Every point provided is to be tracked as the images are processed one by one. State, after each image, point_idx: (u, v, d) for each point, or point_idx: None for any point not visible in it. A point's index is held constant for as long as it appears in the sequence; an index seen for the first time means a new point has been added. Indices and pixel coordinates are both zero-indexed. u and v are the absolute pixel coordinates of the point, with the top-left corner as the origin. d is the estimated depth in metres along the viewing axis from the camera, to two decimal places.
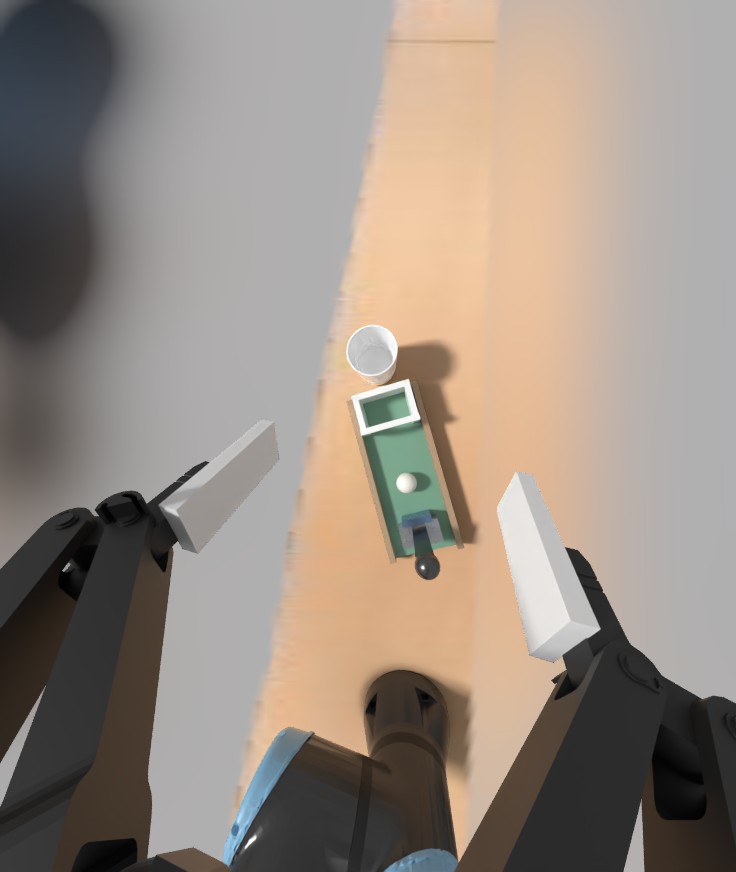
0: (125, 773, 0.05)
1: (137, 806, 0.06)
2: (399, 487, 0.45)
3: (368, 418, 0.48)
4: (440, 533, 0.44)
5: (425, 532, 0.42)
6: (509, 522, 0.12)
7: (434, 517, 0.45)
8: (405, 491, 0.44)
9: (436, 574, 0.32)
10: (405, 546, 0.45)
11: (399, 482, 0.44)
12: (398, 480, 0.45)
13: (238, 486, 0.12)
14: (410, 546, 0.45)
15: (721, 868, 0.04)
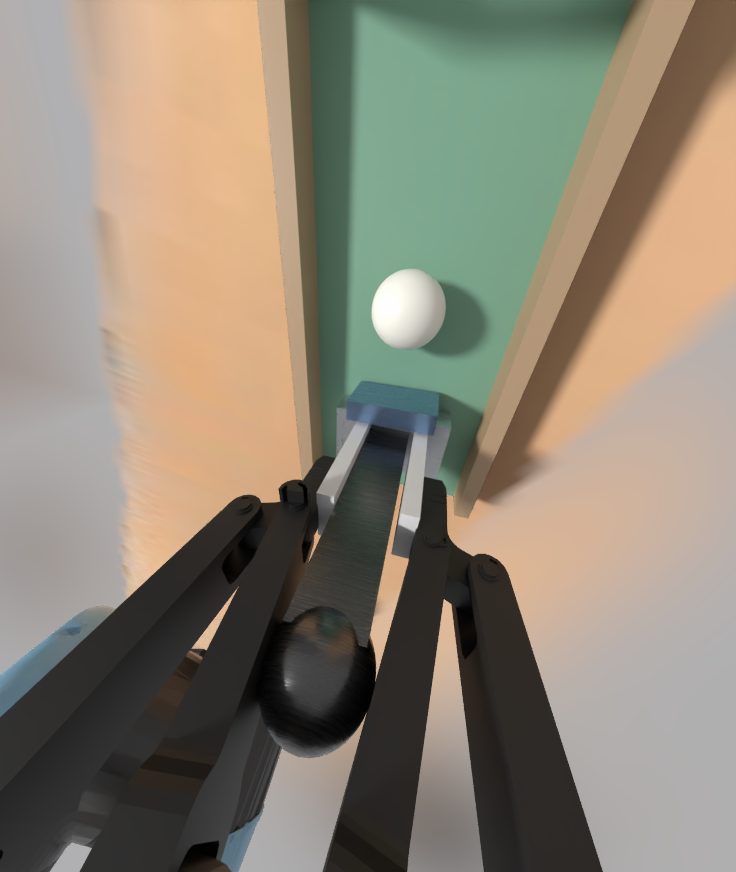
0: (232, 770, 0.06)
1: (229, 805, 0.06)
2: (376, 317, 0.12)
3: None
4: (437, 462, 0.16)
5: (397, 462, 0.13)
6: (407, 468, 0.15)
7: (443, 421, 0.16)
8: (390, 340, 0.12)
9: None
10: None
11: (383, 297, 0.11)
12: (382, 289, 0.12)
13: None
14: None
15: (484, 672, 0.06)
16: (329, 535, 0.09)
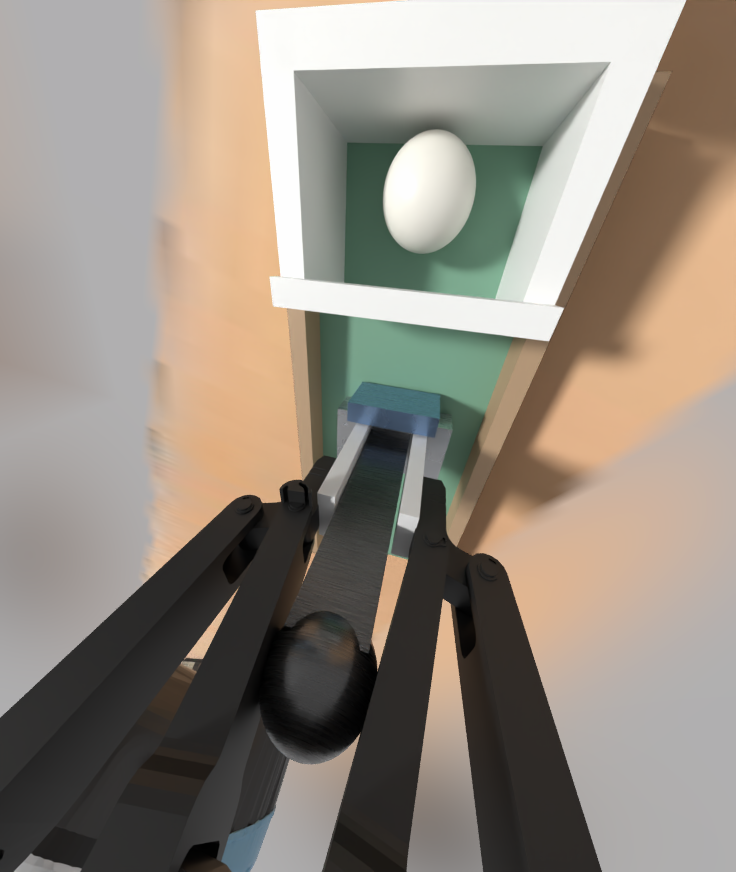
0: (232, 770, 0.06)
1: (229, 805, 0.06)
2: (394, 160, 0.10)
3: (351, 227, 0.13)
4: (438, 464, 0.16)
5: (398, 464, 0.13)
6: (406, 468, 0.15)
7: (444, 423, 0.16)
8: (413, 162, 0.09)
9: None
10: None
11: None
12: None
13: None
14: None
15: (483, 672, 0.06)
16: (330, 538, 0.09)
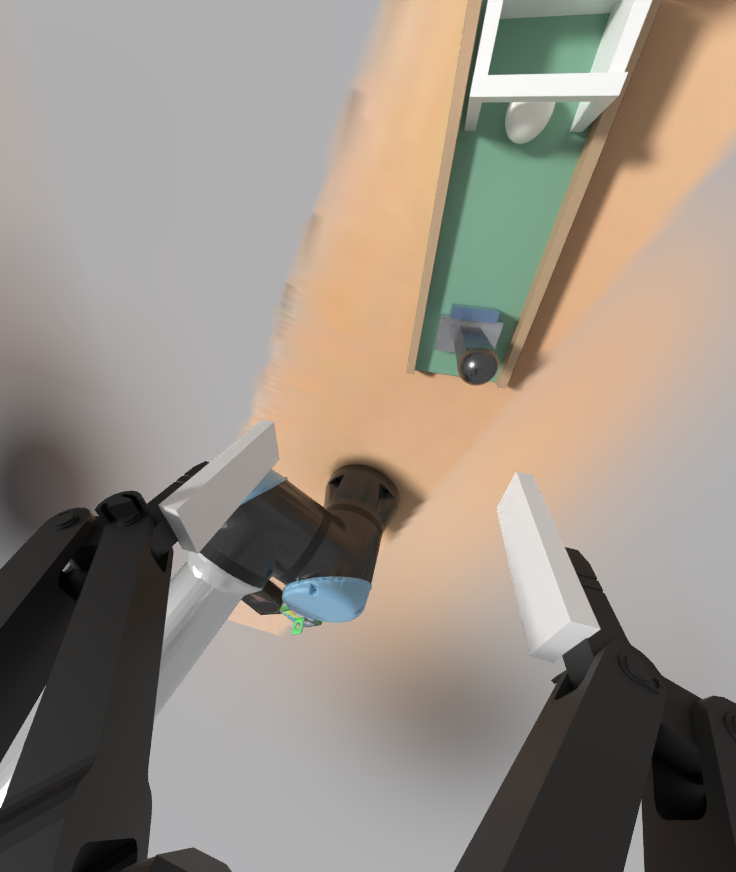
0: (125, 773, 0.05)
1: (137, 806, 0.06)
2: (509, 124, 0.22)
3: None
4: (493, 346, 0.31)
5: (481, 332, 0.28)
6: (509, 522, 0.12)
7: (498, 321, 0.30)
8: (515, 140, 0.22)
9: (487, 380, 0.21)
10: (438, 346, 0.32)
11: (518, 110, 0.21)
12: (517, 102, 0.21)
13: (238, 486, 0.12)
14: (444, 348, 0.32)
15: (721, 868, 0.04)
16: (467, 341, 0.24)
